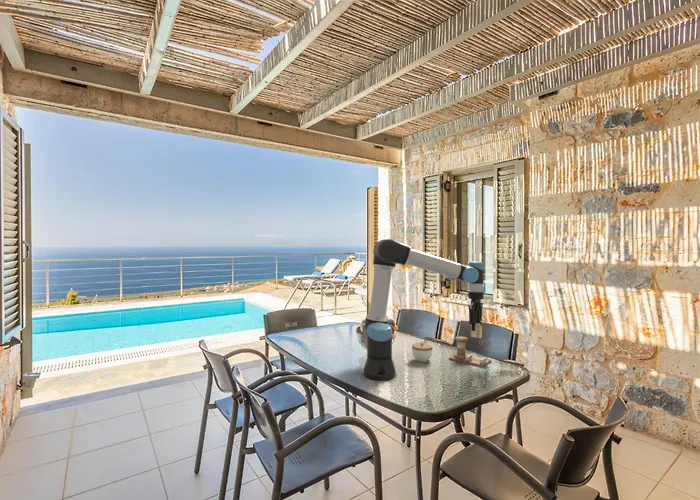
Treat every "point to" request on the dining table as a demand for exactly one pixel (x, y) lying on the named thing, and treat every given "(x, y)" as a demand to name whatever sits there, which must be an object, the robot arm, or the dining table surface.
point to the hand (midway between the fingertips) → (475, 336)
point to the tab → (479, 331)
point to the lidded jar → (422, 352)
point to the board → (472, 360)
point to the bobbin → (461, 347)
